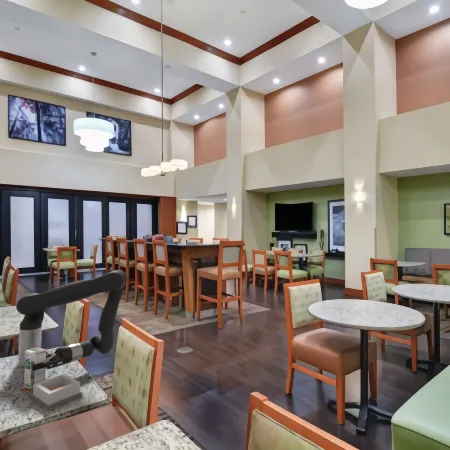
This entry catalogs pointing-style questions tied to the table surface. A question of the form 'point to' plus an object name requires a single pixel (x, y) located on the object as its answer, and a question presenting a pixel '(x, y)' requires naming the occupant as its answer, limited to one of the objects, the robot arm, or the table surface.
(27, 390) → the rest mat
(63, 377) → the panel
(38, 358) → the syrup box
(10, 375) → the table surface
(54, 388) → the button
